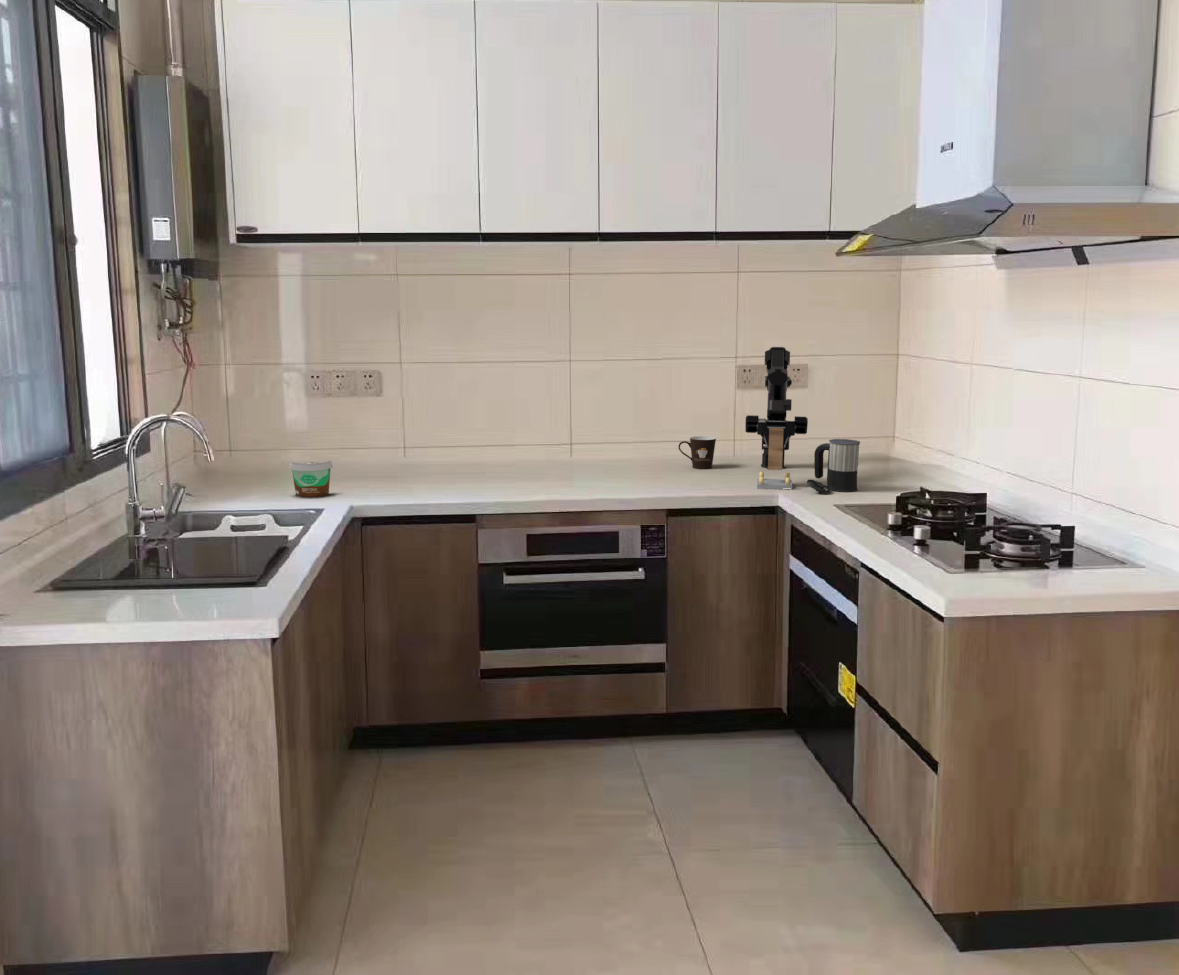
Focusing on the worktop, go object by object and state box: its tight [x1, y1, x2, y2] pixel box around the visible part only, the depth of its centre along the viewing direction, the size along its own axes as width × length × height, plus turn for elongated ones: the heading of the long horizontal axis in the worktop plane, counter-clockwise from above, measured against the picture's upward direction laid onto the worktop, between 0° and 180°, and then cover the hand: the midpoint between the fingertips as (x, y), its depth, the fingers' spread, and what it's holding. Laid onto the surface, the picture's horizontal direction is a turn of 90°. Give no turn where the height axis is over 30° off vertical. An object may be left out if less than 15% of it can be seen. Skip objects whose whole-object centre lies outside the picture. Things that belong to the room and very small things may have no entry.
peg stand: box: [756, 471, 793, 490], centre depth 343 cm, size 10×10×3 cm
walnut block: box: [767, 428, 783, 471], centre depth 341 cm, size 4×4×12 cm
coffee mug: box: [678, 435, 717, 470], centre depth 375 cm, size 12×9×10 cm
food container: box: [289, 459, 334, 499], centre depth 323 cm, size 12×6×10 cm, turn 106°
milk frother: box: [806, 438, 861, 494], centre depth 335 cm, size 14×16×15 cm
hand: (775, 446), depth 340 cm, fingers closed on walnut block, 4 cm apart
